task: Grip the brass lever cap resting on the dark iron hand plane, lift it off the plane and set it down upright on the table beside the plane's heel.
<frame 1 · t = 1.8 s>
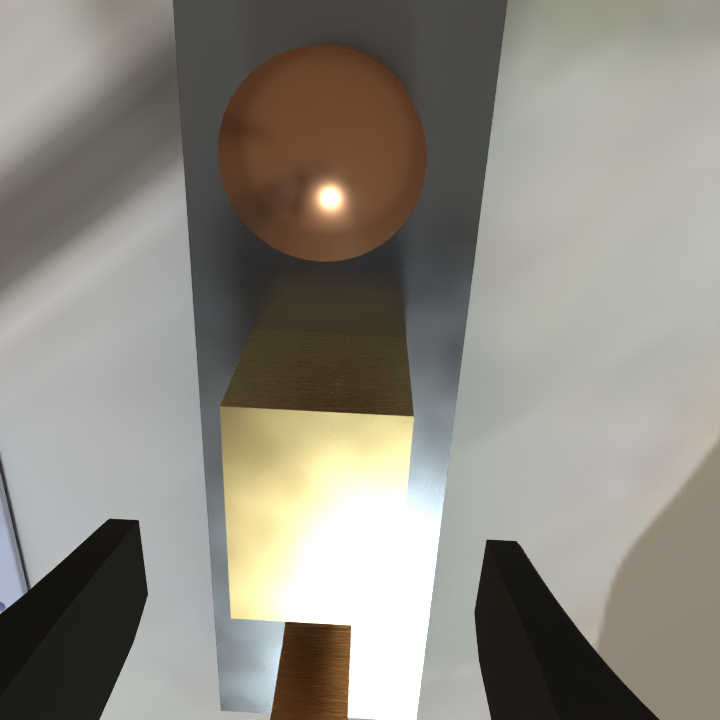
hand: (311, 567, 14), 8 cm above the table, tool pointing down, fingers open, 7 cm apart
hand plane: (332, 388, 21), on the table
lever cap: (326, 431, 19), point 2 cm above the table, touching hand plane
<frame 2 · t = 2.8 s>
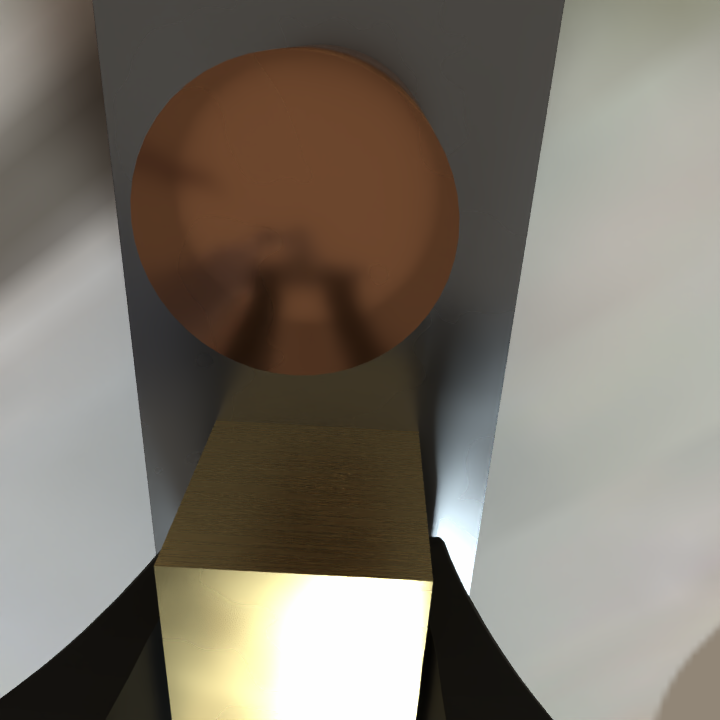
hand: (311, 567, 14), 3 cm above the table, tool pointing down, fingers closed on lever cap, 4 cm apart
hand plane: (323, 475, 17), on the table
lever cap: (314, 543, 14), point 2 cm above the table, touching gripper, hand plane
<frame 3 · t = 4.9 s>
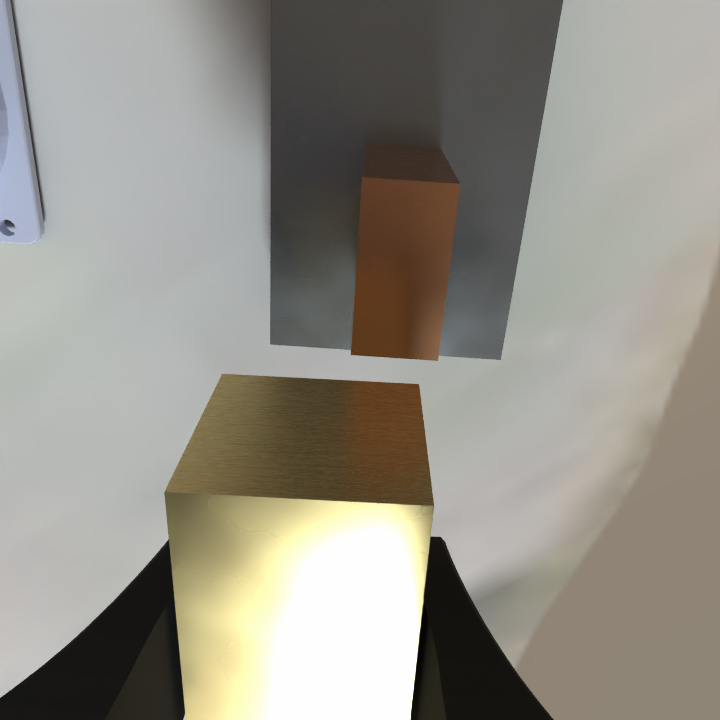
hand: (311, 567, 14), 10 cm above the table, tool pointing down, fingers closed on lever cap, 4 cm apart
lever cap: (317, 500, 15), point 9 cm above the table, touching gripper
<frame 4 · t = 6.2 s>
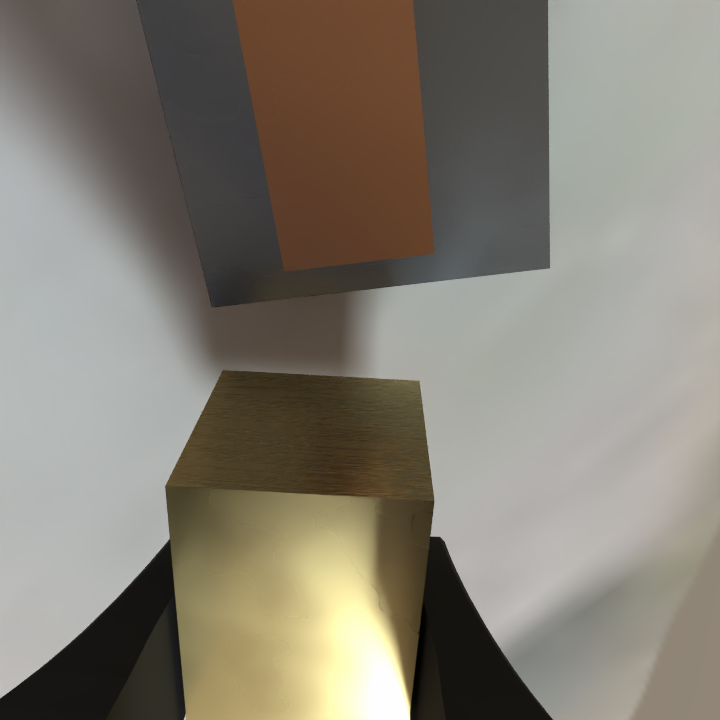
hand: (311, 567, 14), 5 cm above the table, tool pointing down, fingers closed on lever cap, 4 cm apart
lever cap: (318, 496, 15), point 4 cm above the table, touching gripper
when the fingers open (2 cm above the table, at t = 7.2 s): lever cap stays where it is, on the table.
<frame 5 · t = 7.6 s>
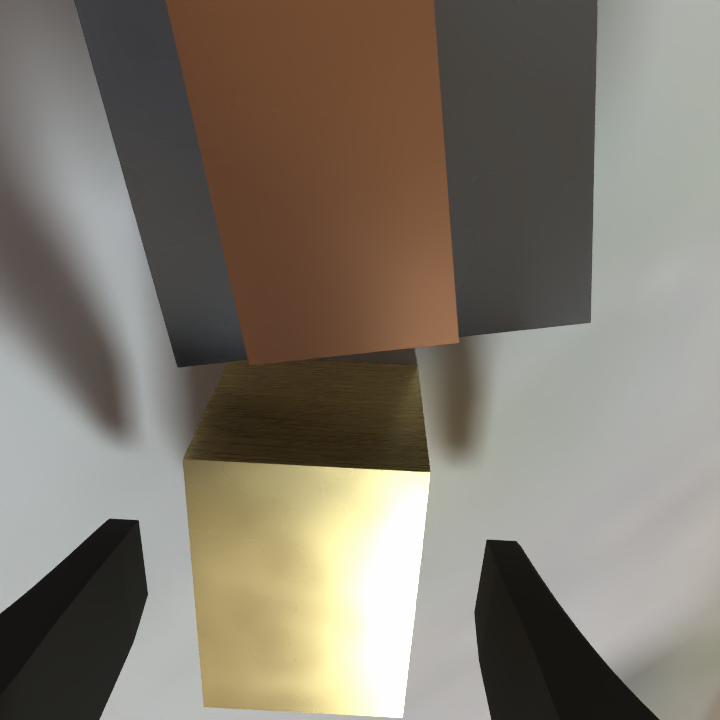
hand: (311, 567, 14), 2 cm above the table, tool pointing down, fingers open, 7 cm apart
lever cap: (321, 472, 16), on the table
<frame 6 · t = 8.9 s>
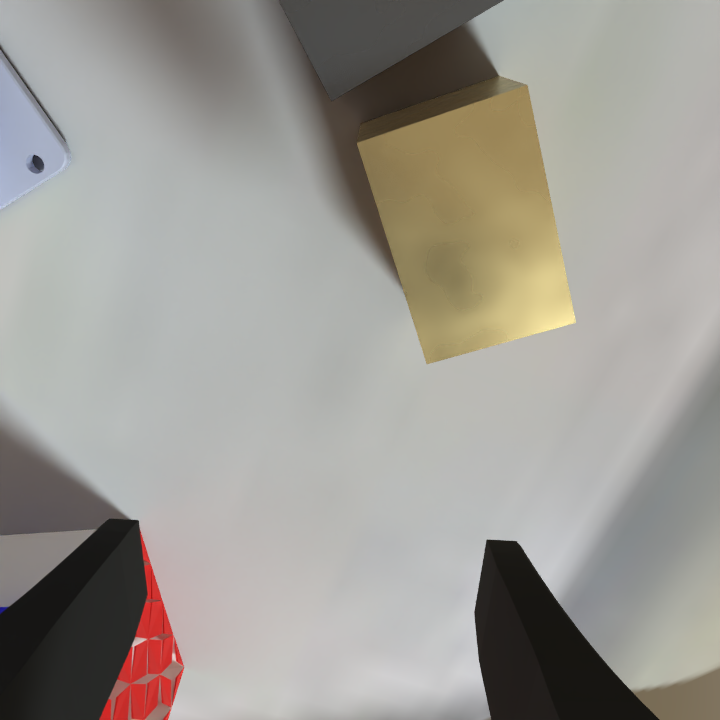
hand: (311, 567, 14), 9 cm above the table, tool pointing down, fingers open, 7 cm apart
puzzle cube: (73, 601, 28), on the table
lever cap: (455, 201, 20), on the table
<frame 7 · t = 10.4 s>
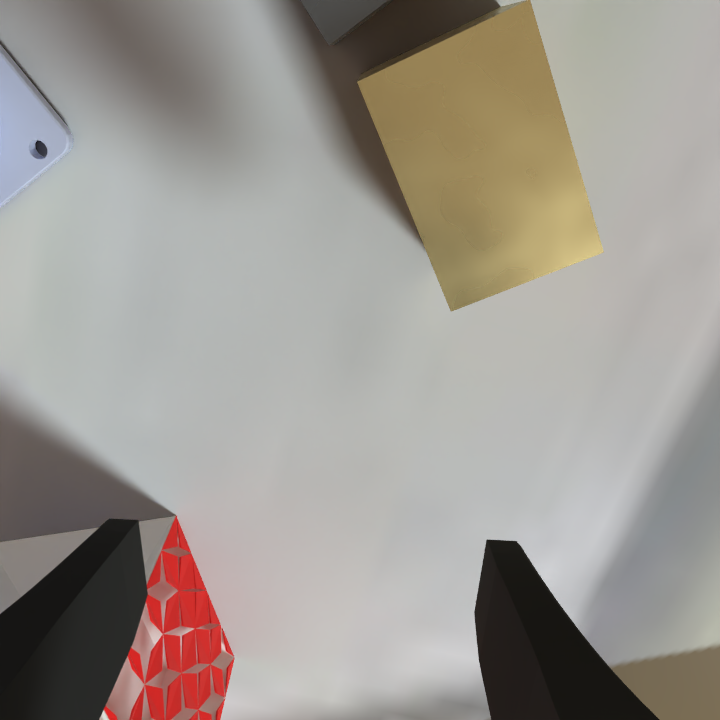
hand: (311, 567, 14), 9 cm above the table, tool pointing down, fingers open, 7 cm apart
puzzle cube: (118, 598, 28), on the table
lever cap: (466, 146, 19), on the table
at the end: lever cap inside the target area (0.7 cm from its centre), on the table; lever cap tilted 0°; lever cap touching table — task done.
